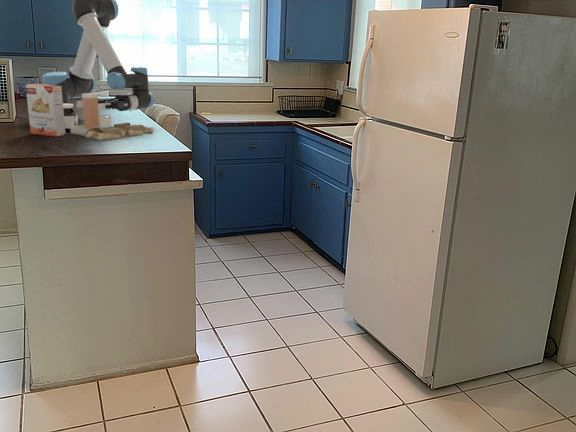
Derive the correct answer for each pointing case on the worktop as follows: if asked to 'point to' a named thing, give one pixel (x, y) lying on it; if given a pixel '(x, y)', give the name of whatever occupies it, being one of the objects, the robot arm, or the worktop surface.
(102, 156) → the worktop surface
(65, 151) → the worktop surface
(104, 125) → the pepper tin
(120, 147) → the worktop surface
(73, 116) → the spread jar
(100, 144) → the worktop surface
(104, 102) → the robot arm
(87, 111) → the lidded box
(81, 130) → the tray
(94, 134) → the wooden blocks
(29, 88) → the cracker box
